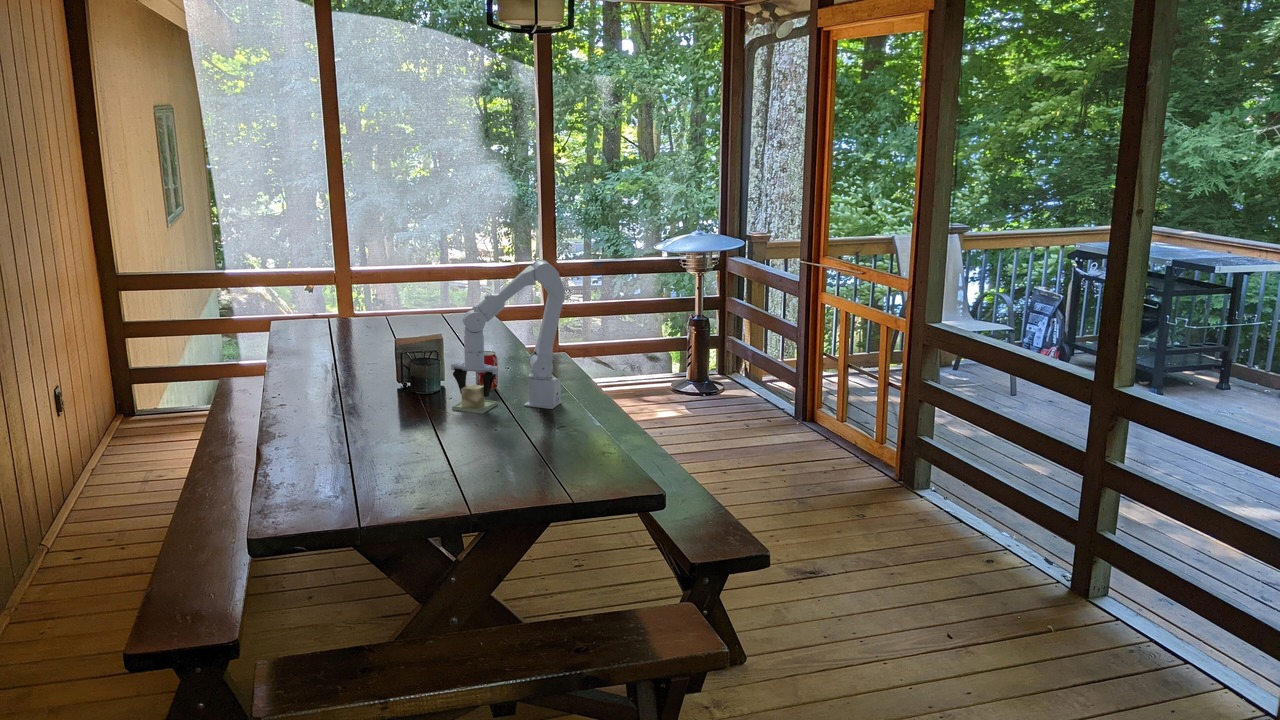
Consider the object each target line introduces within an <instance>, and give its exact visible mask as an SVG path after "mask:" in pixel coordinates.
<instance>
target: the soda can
mask: <svg viewBox="0 0 1280 720" xmlns="http://www.w3.org/2000/svg"><path fill="white" fill-rule="evenodd" d="M498 363H499V362H498V355H496V352H495V351H494V350H492V351H491V350H484V364H486V365H491V366H496V367H498V368H499V364H498ZM484 374H485V373H483V372H475V385H479V386H484V384H483V378H482V375H484ZM498 384H499V372H498V373H497V374H496V376H495V378H494V380H493V382H492V385H491V388H490V392H491V391H494V390H495V389H497V388H498Z"/></svg>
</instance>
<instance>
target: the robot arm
mask: <svg viewBox="0 0 1280 720" xmlns="http://www.w3.org/2000/svg"><path fill="white" fill-rule="evenodd" d="M537 282H538V284H541V286H542V287H543V288H544V289H545V292H547V296H546V301H545V307H544V310H543V314H542V315H543V316H542V320H541V324H540V328H539V334H538V338H537V343H536V344H535V346H534V349H533V352H532V354H530V356H529V358H528V366H529V368H530V369H531V370H530V373H529V374H528V400H527V402H525V403H524V404H523V406H524V407H531V408H541V409H548V410H552V409H553V410H554V409H555V408H556V407H557V406H559V405H560V404H562V402H563V401H562V382H561V381H562V380H561V379H560V378H558V377H555V376H553V372H554V364H553V358H554V351H553V350H554V349H553V348H554V344H555V339H556V335H557V331H558V326H559V320H560V318H561V317H560V316H561V312H562V309H563V303H564V299H565V294H566V290H565V287H564V284H563V280H562V279H561V277H560V272H559V271H558V270H557V269H556V268H555V267H554V266H553V265H552V264H551V263H549V262H548V261H547V260H545V259H537V260H535V261H534V262H533V263H532V264H531V265H527V267H526V268H524V269H523V270H522V271H521V272H520V273H519V274H517V275H516V277H514V278H513V279H512V280H511V281H510V282H509V283H508V284H506V286H505V287H503V288H502V289H501V290H500V291H499V292H498V293H494V292H493V293H490V294H486V295H484V299H483V300H482V301H481V302H479V304H477V305H476V306H475V305H473V306H472V307H471V308H472V310H471V309H470V310H468V311H467V312H466V313H465V314H464V315H463V318H462V322H463V323H462V324H464V326H465V327H464V336H463V337H464V338H463V339H464V347H463V348H464V349H463V350H464V362H452V363H451V364H450V370H451V371H453V372H452V376H453V377H454V379H455V381H456V382H457V385H458V386H457V387H458V389H459V392H460V395H462V392H461V388H463V387H465V386H467V381H466V380H467V374H468V372H472V373H476V372H483V373H485V374H484V375H482V378H483V384H484V398H487V397H489V396H490V392H491V391H490V388H491V385H492V382H493V380H494V378H495V376H496V374H497V373H498V374H499V366H498V367H496V366H491V365H486V364H484V351H485V337H484V336H485V335H484V329H485V326H486V323H488V322H489V321H491V320H492V319H493V318H495V317H496V316H497V315H498V314H499V313H500V312H502V311H503V310H504V309H505V306H506V305H505V303H506V302H507V301H508V300H509V299H511V298H512V297H514V296H515V295H516V294H517V293H519V292H520V291H521V290H523V289H524V288H525V287H527V286H536V285H537Z"/></svg>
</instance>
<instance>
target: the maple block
mask: <svg viewBox="0 0 1280 720" xmlns="http://www.w3.org/2000/svg"><path fill="white" fill-rule="evenodd" d="M461 392H462V394H461V401H462V407H467V408H475V409H479V408H481V407H482V406H484V405H485V400H486V399H485V398H486V397H484V386H479V385H476V384H472V383H471V384H466V386H465V387H463V388H461Z"/></svg>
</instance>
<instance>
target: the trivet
mask: <svg viewBox="0 0 1280 720" xmlns="http://www.w3.org/2000/svg"><path fill="white" fill-rule="evenodd" d="M496 406H498V401H495V400H490V399H489V400H488V399H485V405H484V406H482V407H481V408H479V409H475V408H467V407H462V400H461V401H459V402H457V403H456V404H454V405H452V407H451V411H457V410H459V412H465V411H466V412H467V413H475V414H482V415H483V414H485V413H486V412H488V411H489V410H491V409H493V408H495V407H496ZM460 410H461V411H460Z"/></svg>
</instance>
